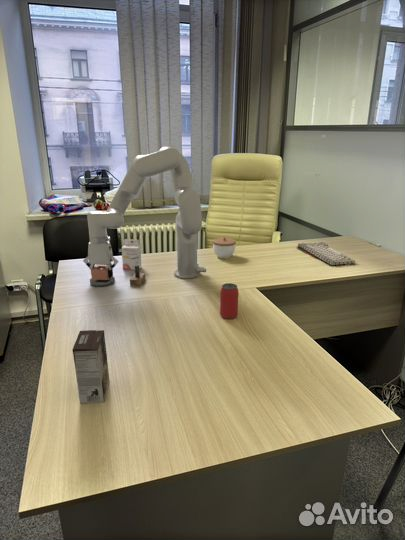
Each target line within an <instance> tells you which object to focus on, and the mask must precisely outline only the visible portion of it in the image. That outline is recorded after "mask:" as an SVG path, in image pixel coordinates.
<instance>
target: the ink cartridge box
mask: <svg viewBox="0 0 405 540" xmlns="http://www.w3.org/2000/svg"><path fill="white" fill-rule="evenodd" d="M123 243H124V245H122V247H121V255H122V256H121V258H122V259H121V260H122V262H121V263H122V270H127V271H128V270H129V271H135V266H136V265H139V271H140V270H141V269H142V254H141V253H142V251H141V242H140V239H135V238H134V239H129V238H124V239H123Z"/></svg>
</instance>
